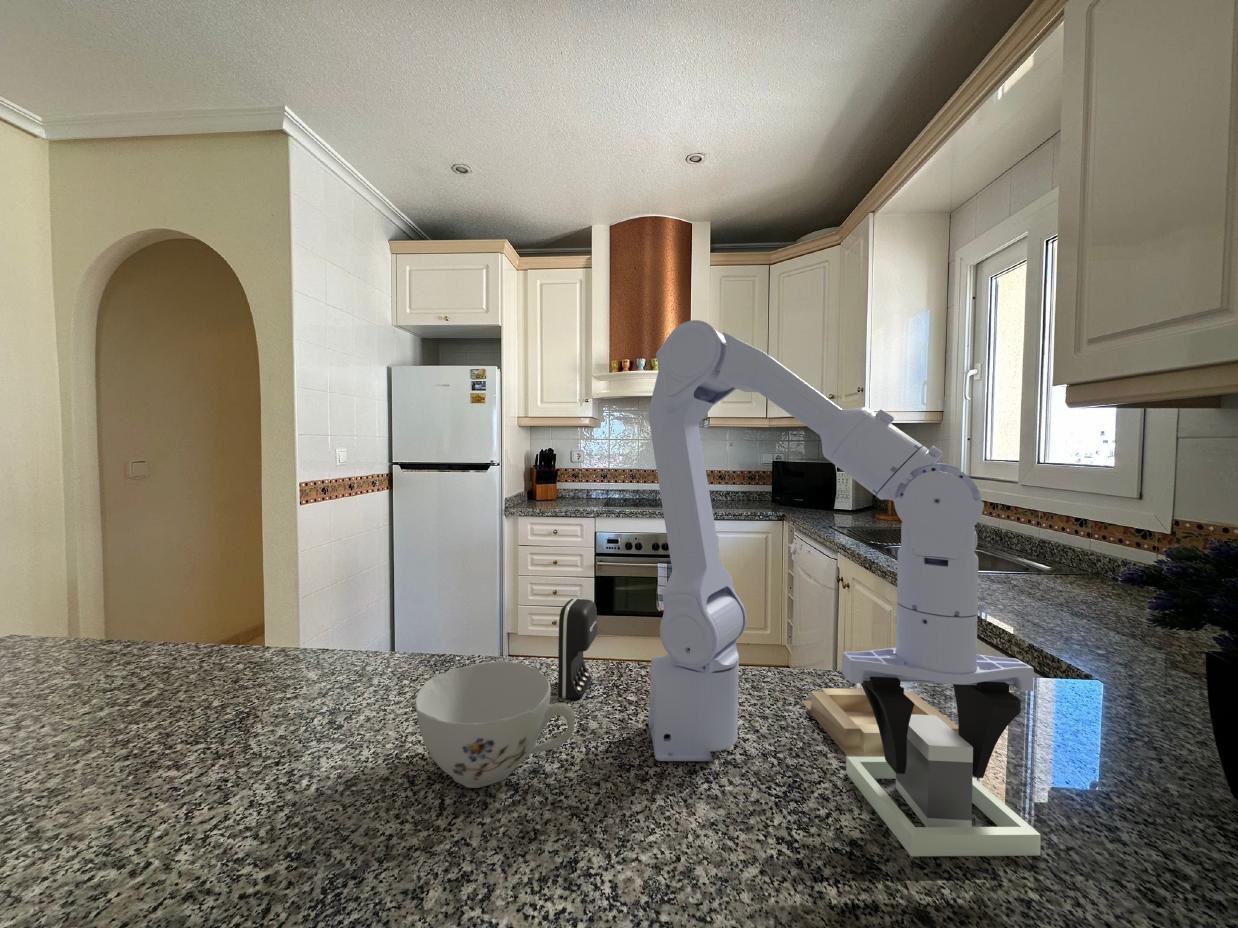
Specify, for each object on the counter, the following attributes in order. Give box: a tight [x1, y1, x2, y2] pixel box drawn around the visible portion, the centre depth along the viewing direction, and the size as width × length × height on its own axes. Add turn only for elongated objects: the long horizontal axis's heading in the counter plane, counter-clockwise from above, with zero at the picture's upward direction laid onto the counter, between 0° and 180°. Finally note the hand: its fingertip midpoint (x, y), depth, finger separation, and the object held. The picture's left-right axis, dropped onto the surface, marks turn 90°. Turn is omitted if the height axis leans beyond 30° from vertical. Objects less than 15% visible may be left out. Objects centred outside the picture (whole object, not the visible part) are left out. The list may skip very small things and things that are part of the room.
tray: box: [845, 756, 1042, 857], centre depth 42 cm, size 10×10×2 cm
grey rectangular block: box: [895, 714, 974, 827], centre depth 42 cm, size 3×5×7 cm
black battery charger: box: [557, 597, 598, 700], centre depth 65 cm, size 7×4×11 cm, turn 171°
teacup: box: [415, 661, 576, 789], centre depth 47 cm, size 15×12×8 cm
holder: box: [801, 687, 959, 758], centre depth 55 cm, size 13×12×3 cm
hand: (932, 768), depth 42 cm, fingers open, 6 cm apart
